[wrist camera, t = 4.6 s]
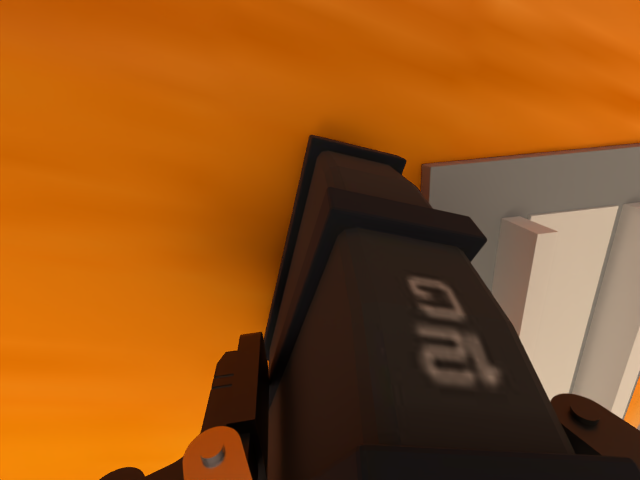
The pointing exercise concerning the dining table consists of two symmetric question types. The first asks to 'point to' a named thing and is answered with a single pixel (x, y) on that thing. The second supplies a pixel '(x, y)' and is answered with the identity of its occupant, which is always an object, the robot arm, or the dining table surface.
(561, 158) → the rail board
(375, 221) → the magazine
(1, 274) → the dining table surface
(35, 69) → the dining table surface
